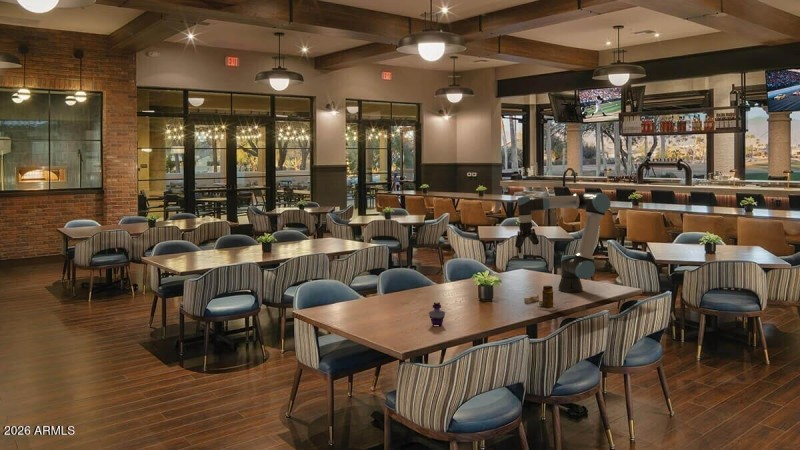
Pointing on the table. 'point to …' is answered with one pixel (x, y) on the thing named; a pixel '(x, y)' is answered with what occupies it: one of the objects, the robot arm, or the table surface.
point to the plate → (548, 308)
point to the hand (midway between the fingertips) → (528, 256)
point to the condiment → (547, 297)
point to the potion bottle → (437, 314)
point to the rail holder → (532, 299)
